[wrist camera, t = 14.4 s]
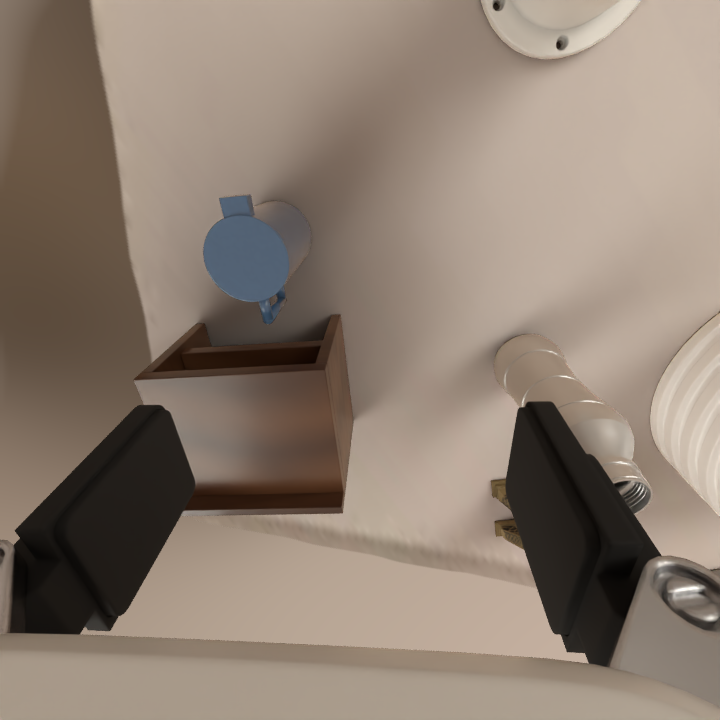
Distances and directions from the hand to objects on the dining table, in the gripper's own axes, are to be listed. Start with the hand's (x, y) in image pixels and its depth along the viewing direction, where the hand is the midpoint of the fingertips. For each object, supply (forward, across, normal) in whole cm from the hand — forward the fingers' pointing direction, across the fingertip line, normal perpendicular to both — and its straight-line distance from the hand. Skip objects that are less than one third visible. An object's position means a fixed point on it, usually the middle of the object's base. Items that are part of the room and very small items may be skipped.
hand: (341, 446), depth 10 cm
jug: (+30, +9, 0) cm, 31 cm away
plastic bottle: (+30, -15, +13) cm, 36 cm away
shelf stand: (+30, +12, +15) cm, 35 cm away
